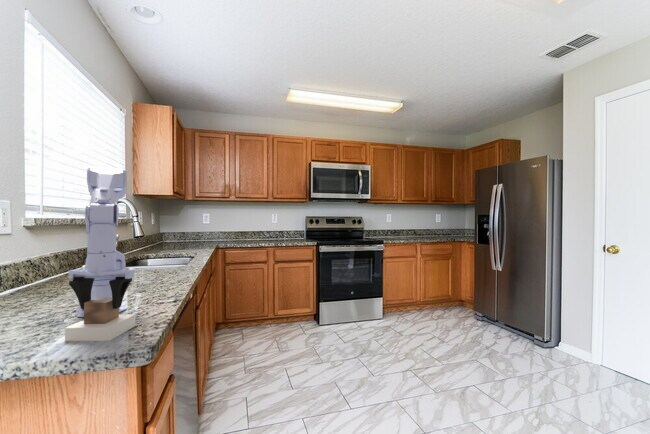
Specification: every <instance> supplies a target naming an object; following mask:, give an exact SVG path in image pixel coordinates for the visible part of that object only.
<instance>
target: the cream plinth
mask: <svg viewBox="0 0 650 434" xmlns="http://www.w3.org/2000/svg"><path fill="white" fill-rule="evenodd" d="M136 319H137V318H136V313H134V314H133V313H130V314H129V313H128V314H127V313H123V314H122V313H119V317H118V318H116V319H114V320H112V321H110V322H108V323H106V324H84V319H83V320H81V321H78V322H76V323H73V324H71V325H69V326H66V327H64V342H110V341H111V340H113V339H115V338H117V337H118V336H120V335H122V334H124V333H126V332H127V331H129V330H130V329H132V328H135V326H136Z"/></svg>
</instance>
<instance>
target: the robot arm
mask: <svg viewBox="0 0 650 434" xmlns="http://www.w3.org/2000/svg"><path fill="white" fill-rule="evenodd" d="M86 170H87V171H86V183H87V189H88V192H89V196H90V201H89V205H85V209H84V222H85V228H86V230H85V231H86V233H85V234H86V235H87V239H86V240H87V244H86V245H87V246H86V247H87V248H86V249H87V252H86V253H87V254H86V258H85V264H84V265H85V269H70V270H68V279H69V281H68V285H69V286H70V287H71V288H72V290H73V292H74V293H75V296H76V298H77V300H78V314H77V315H76V317H77V318H82V317H83V318H84V303H85V302H88V301H90V300H93V299H96V298H99V297H112V307H113V309H117V308H119V313H121V312H123V311H125V310H127V309H128V307H126V306H125V307H122V304H123V301H124V297H125V294H126V292H127V289H128V288H129V286H130V285H131V283H132V281H133V278H134V277H135V270H134V269H127V268H126V264H127V263H126V256H125V254H124V253H122V252H121V251H118V250H117V227H118V224H119V218H120V217H119V215H120V214H119V206H118V205H119V204H118V202H119V200H120V199H123V198H125V197H126V194H127V184H128V181H127V178H128V177H127V174H128V173H127V169H126V168H123V169H122V168H112V167H101V166H100V167H99V166H92V165H90V166H89V167H87V169H86ZM70 279H71V280H70Z"/></svg>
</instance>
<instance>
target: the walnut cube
mask: <svg viewBox="0 0 650 434" xmlns="http://www.w3.org/2000/svg"><path fill="white" fill-rule="evenodd" d="M119 314H120V312H119V308H117V309H113V307H112V297H99V298H96V299H93V300H90V301H88V302H85V303H84V317H83V320H84V324H106V323H108V322H110V321H112V320H114V319H116V318H118V317H119Z"/></svg>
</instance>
